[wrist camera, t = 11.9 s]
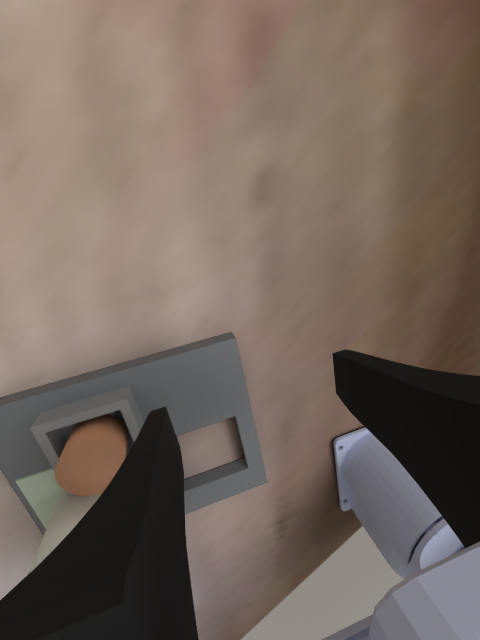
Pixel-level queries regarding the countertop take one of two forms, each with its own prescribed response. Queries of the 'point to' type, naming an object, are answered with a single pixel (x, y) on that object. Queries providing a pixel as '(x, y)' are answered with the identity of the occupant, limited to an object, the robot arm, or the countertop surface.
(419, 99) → the countertop surface
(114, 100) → the countertop surface
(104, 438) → the orange round piece
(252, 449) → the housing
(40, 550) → the cartridge
